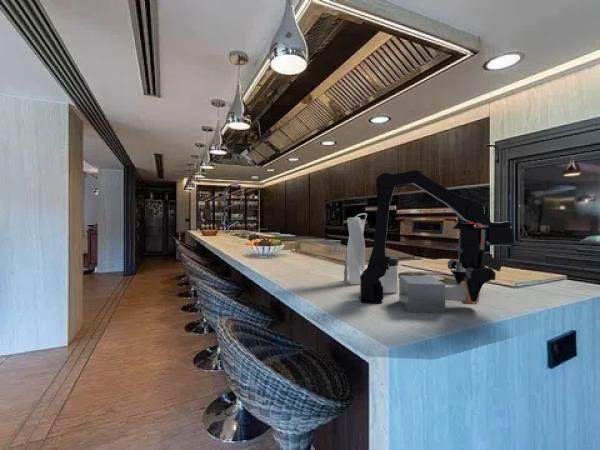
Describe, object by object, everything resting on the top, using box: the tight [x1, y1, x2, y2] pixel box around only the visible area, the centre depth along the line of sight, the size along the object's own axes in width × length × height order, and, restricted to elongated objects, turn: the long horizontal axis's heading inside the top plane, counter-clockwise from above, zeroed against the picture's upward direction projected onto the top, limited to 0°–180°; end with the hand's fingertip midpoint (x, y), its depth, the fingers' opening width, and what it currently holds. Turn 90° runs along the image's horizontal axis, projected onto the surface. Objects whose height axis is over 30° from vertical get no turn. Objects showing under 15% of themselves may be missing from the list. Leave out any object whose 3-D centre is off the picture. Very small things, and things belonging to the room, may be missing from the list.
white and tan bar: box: [444, 281, 480, 305], centre depth 94 cm, size 14×7×7 cm, turn 84°
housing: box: [398, 274, 446, 314], centre depth 95 cm, size 10×12×8 cm
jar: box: [379, 255, 400, 294], centre depth 114 cm, size 9×8×12 cm
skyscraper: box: [343, 212, 368, 286], centre depth 127 cm, size 8×8×28 cm
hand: (468, 298), depth 93 cm, fingers closed on white and tan bar, 7 cm apart
